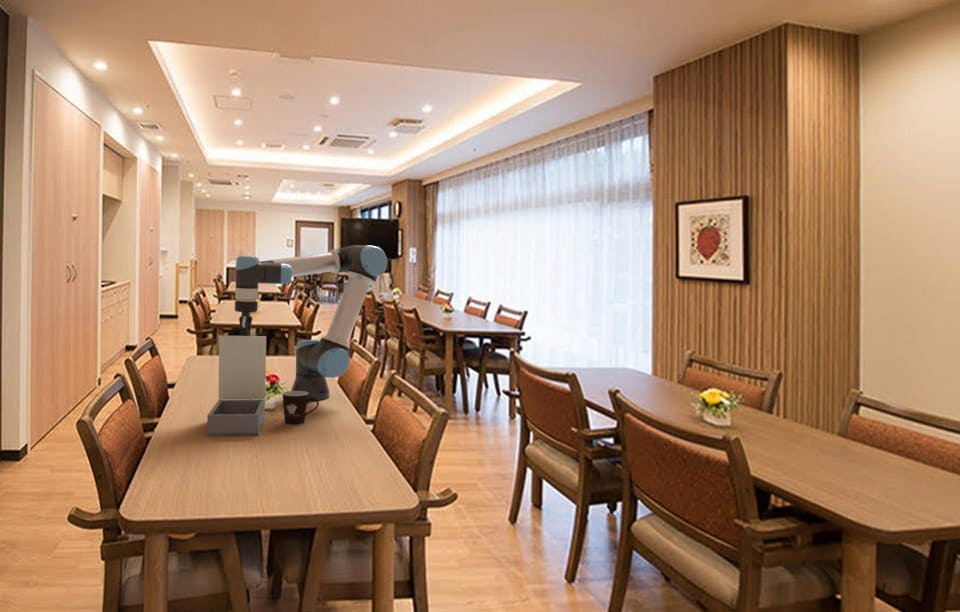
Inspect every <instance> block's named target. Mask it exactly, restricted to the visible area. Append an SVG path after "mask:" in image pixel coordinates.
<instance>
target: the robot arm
mask: <svg viewBox="0 0 960 612" xmlns="http://www.w3.org/2000/svg"><path fill="white" fill-rule="evenodd" d="M387 267H388V259H387V256H386V253H385V251H384V250H383V249H382V248H381V247H379V246H375V245H372V244H371V245H370V244H369V245H359V244H356V245H355V244H353V245H348V246H345V247H341V248H336V249H330V250H329V251H328V252H325V253H316V254H310V255H309V254H308V255H307V254H306V255H300V256H294V257H293V256H292V257H285V258H277V259H270V260H263V261H260V258H259V257H258V256H248V255H245V256H244V255H238V256H237V257H236V261H235V269H234V270H235V285H234V286H235V287H234V288H235V290H232V291H233V294H234V295H235V296H234V299H235V301H234V311H235V312H238V313H241V316H239V318H238V321H239V336H252V334H251V331H252V324H253V323H252V322H253V316H252V315H251V313H256V312H258V305H259V304H258V301H257V300H259V284H264V285H265V284H268V285H269V284H270V285H287V284H289V283H290V282H291V280H292V278H296V277H302V276H309V275H316V274H322V273H333V274H340V273H346V275H347V277H348V280H347V282H346V285H345V287H344V290H343V293H342V295H341V298H340V301H339V303H338V305H337V308H336V310H335V312H334V313H335V314H334V316H333V318H332V321H331V323H330V326H329V328H328V331H327V334H325V335H324V336H322V337H321V338H320V339H307V340H306V339H305V340H298V341H297V343H296V348H295V352H296V353H295V379H294V381H293V384H292V387H291V390H290V391H305V392H308V393H309V394H308V399H310V398H316V399H317V400H318V401H320V400H326V399H328V398H330V388H329V385H328V381H327V378H329V379H330V378H333V379H335V378H338V377H341V376H343V375H344V374H345V373H346V372H347V371H348V369H349V367H350V365H351V361H350V360H351V357H350V355H349V351H350V348H351V347H350V344H349V340H350V338H351V335H352V333H353V331H354V327H355V325H356V322H357V320H358V318H359V315H360V311H361V309H362V307H363V303H364V302H365V299H366V297H367V294H368V291H369V288H370V287H371V286H372V285H375V284H376V281H377V278H378V276H381V275H383V274H384V273H385V272H386V270H387ZM311 401H314V400H313V399H312V400H311Z"/></svg>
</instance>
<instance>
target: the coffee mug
mask: <svg viewBox="0 0 960 612" xmlns="http://www.w3.org/2000/svg"><path fill="white" fill-rule="evenodd" d="M281 394H282V403H283V415H284V416H283V417H284V423H285V424H286V425H289V426H290V425H293V426H294V425H295V426H296V425H302V424H305V421H306V417H307V415H309V414H310V413H313V412H314V411H315V410H317V408H318V407H319V405H320V403H319V400H317V399H316V398H310V399H308V394H309V393H308V392H305V391H291V390H289V391H283V392H282V393H281ZM312 399H313V400H312ZM310 401H315V402H316V406H315V407H314V408H313V409H311V410H310V411H308V412H307V408H308V407H307V406H308V404H309V402H310Z"/></svg>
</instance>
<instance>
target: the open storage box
mask: <svg viewBox="0 0 960 612" xmlns="http://www.w3.org/2000/svg"><path fill="white" fill-rule="evenodd" d="M265 404H266V399H265V400H219V399H218V400H217V402H216V403H215V404H214V406H213V407H211V409H210V412H209V413H208V414H207V420H206V422H207V423H206V424H207V425H206V428H207V429H206V436H207V437H238V436H239V437H241V436H243V437H244V436H245V437H246V436H248V437H250V436H253V437H255V436H259V435H260V432H261V429H262V427H263V424H264V421H265V415H266V414H265V411H266V407H265V406H266V405H265Z"/></svg>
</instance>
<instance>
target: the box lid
mask: <svg viewBox="0 0 960 612" xmlns="http://www.w3.org/2000/svg"><path fill="white" fill-rule="evenodd" d="M266 360H267V336H266V335H262V336H261V335H260V336H259V335H250V336H240V335H218V400H265V401H266V381H267V380H266V377H267V374H266V373H267V372H266V371H267V369H266V367H267V365H266V364H267V361H266Z"/></svg>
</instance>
